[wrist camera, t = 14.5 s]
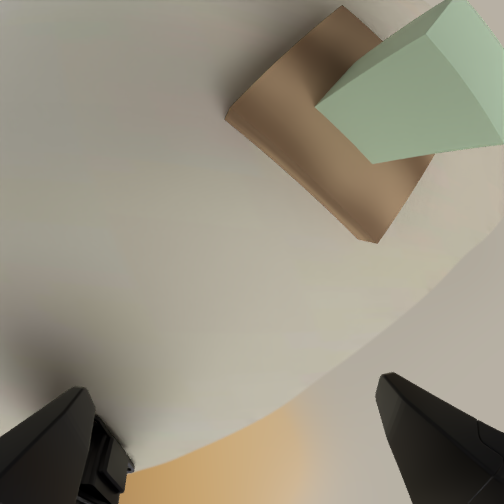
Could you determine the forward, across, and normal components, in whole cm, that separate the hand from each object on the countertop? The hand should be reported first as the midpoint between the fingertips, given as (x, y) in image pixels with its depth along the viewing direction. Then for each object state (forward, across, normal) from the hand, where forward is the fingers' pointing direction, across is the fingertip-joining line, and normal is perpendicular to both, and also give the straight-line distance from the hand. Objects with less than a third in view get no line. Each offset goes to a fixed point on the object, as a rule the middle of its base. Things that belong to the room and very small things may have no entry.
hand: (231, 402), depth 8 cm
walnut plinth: (+15, -8, -9) cm, 19 cm away
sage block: (+12, -9, -9) cm, 18 cm away
